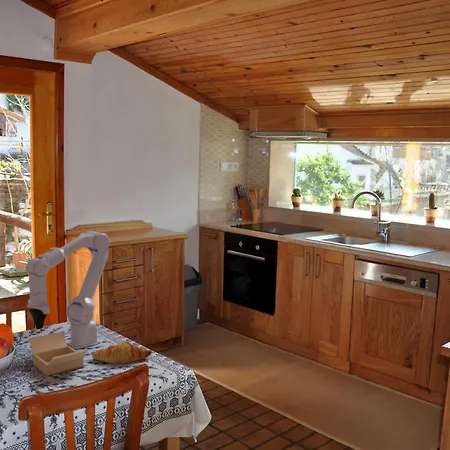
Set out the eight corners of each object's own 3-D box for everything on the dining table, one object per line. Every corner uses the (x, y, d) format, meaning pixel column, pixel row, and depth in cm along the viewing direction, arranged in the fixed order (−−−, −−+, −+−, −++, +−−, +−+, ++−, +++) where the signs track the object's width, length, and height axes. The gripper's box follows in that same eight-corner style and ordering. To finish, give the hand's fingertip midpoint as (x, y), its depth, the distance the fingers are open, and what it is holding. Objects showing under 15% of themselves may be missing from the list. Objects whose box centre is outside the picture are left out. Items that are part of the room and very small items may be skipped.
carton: (68, 356, 198) (68, 345, 197) (83, 366, 189) (83, 355, 188) (33, 365, 189) (32, 353, 189) (46, 376, 180) (46, 364, 180)
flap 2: (88, 349, 184) (88, 350, 184) (82, 356, 188) (82, 357, 188) (53, 357, 176) (53, 358, 176) (47, 364, 180) (48, 365, 180)
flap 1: (67, 345, 197) (67, 346, 197) (62, 331, 199) (62, 332, 200) (34, 353, 189) (33, 354, 190) (29, 338, 192) (28, 339, 192)
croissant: (91, 372, 193) (89, 357, 188) (93, 350, 201) (91, 335, 196) (151, 369, 195) (151, 354, 190) (151, 347, 203) (151, 332, 199)
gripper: (19, 289, 197) (20, 325, 199) (35, 298, 186) (36, 336, 188) (38, 286, 201) (39, 321, 203) (55, 294, 191) (56, 332, 192)
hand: (39, 328), depth 196 cm, fingers closed
